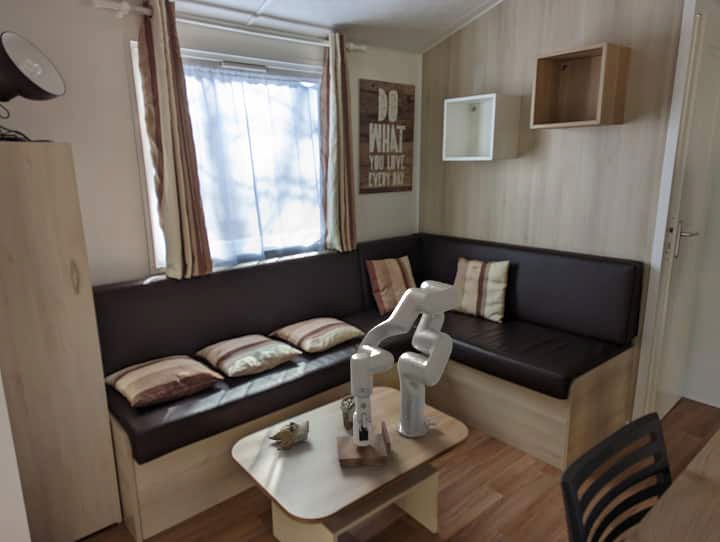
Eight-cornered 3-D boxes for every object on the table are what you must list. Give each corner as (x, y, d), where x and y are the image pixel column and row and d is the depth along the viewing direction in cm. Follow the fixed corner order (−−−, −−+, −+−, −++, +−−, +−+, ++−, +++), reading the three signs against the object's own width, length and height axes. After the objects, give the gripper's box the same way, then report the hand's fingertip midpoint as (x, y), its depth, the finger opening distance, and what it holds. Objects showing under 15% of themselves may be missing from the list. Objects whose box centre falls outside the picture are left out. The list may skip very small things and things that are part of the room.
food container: (351, 413, 210) (350, 391, 208) (363, 417, 207) (363, 395, 205) (334, 427, 200) (333, 404, 197) (347, 431, 197) (347, 408, 194)
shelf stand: (384, 442, 189) (384, 421, 187) (390, 465, 176) (390, 442, 173) (336, 446, 187) (336, 424, 185) (338, 469, 174) (338, 446, 172)
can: (364, 449, 176) (364, 418, 173) (350, 443, 180) (349, 412, 177) (375, 440, 181) (375, 410, 178) (361, 434, 185) (360, 405, 182)
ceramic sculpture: (314, 422, 187) (275, 436, 180) (316, 443, 189) (278, 457, 182) (302, 410, 196) (265, 423, 189) (305, 430, 198) (268, 443, 191)
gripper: (375, 399, 167) (376, 447, 172) (369, 376, 184) (370, 421, 188) (353, 401, 167) (354, 449, 171) (349, 378, 183) (350, 422, 188)
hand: (362, 434), depth 180 cm, fingers closed on can, 6 cm apart
